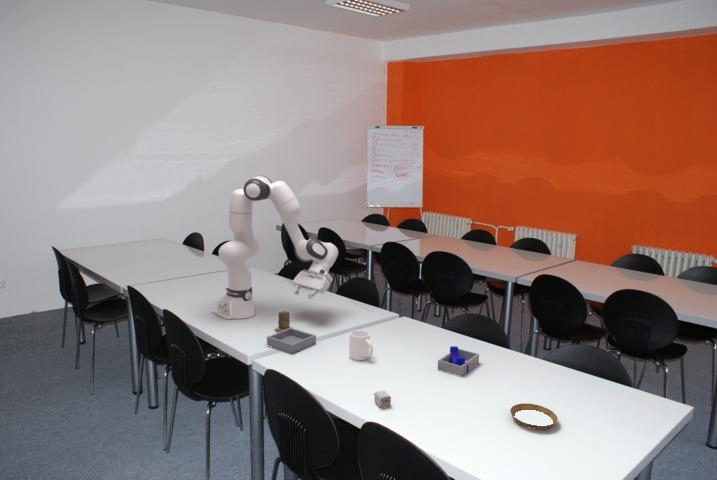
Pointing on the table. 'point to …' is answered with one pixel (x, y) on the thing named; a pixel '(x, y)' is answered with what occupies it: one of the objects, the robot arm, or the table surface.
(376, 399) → the usb wall charger
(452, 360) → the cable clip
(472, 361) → the desk organiser frame
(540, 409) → the brown ring
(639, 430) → the table surface
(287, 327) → the oak scraper block
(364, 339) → the mug
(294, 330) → the box
